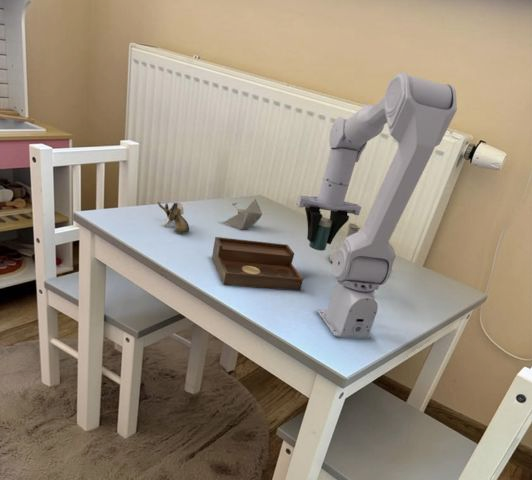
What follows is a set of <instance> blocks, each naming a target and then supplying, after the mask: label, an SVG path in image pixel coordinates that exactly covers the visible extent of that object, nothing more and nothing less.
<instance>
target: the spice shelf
mask: <svg viewBox="0 0 532 480" xmlns="http://www.w3.org/2000/svg"><path fill="white" fill-rule="evenodd" d="M294 256H295V252H294V251H293V250H292V248H291V247H290V246H289V244H284V243H275V242H268V241H267V242H266V241H257V240H249V239H248V240H247V239H238V238H230V237H222V236H221V237H220V236H215V237H214V243H213V249H212V254H211V260H212V262H213V265H214V267H215V269H216V271H217V274H218V276H219V278H220V281H221V283H222V285H223V286H235V287H247V288H248V287H250V288H261V289H274V290H275V289H276V290H286V291H287V290H288V291H289V290H290V291H301V289H302V285H303V281H304V278H303V277H302V275H301V274H300V273H299V272H298V270H297V268H296V267H295V266H294V265H293V260H294V258H295V257H294Z"/></svg>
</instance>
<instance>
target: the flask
mask: <svg viewBox="0 0 532 480" xmlns="http://www.w3.org/2000/svg"><path fill="white" fill-rule="evenodd" d="M361 229H362V228H361V225H360V224H357V223H353V222H349V223H347V229H346V232H345V234H344V236H343V238H342V240H341V241H340V242H339V244H338V245H337V246H336V248H335V249H334V251H333V252H332V253H331V255H330V256H329V259H330V261H331V263H333V258H334V255H335V253H336V251H337V250H338V249H339V248H340V247H341V245H342V244H343V242H344V240H345V238H346V237H348V236H350V235H352V234H354V233H357V232H359V231H360V230H361Z"/></svg>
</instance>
